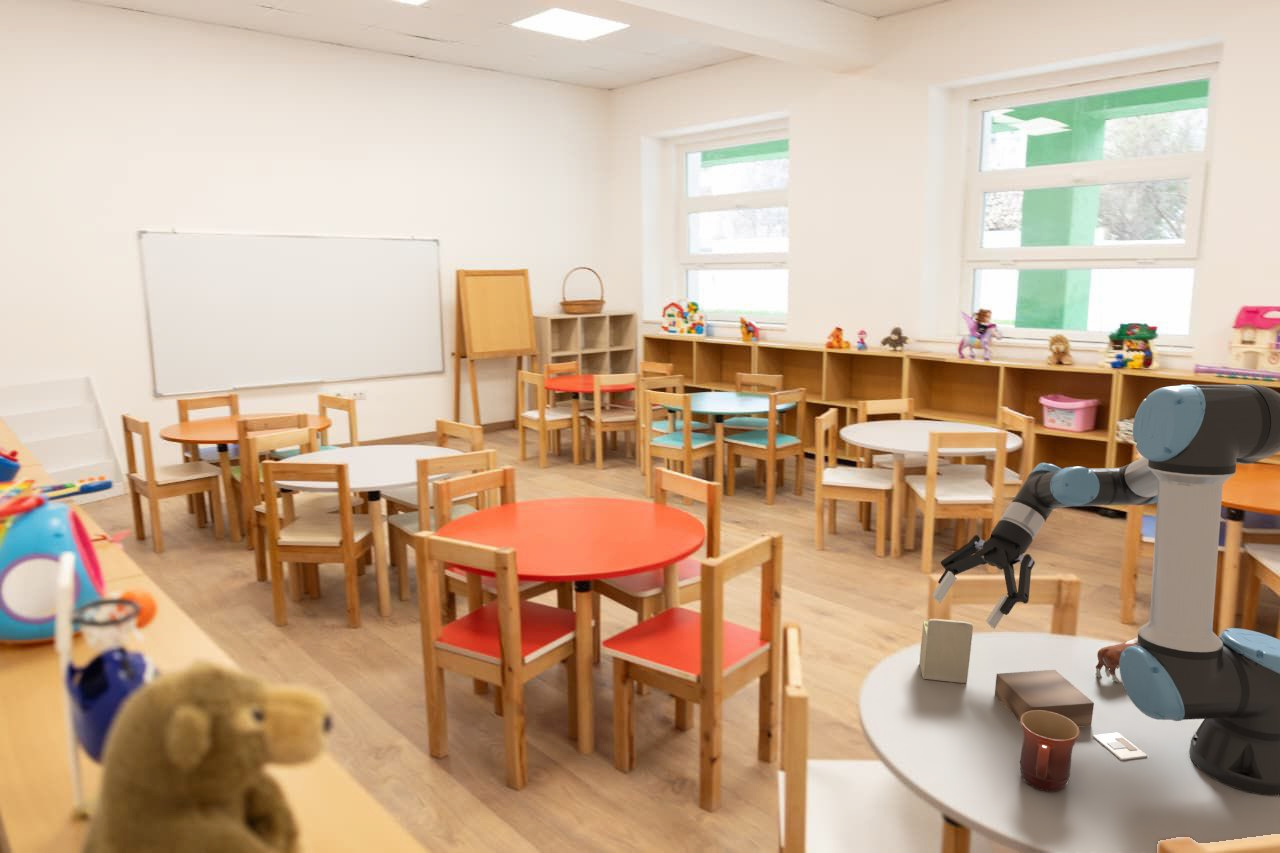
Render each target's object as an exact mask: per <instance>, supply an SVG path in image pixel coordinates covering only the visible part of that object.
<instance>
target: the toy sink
mask: <svg viewBox="0 0 1280 853" xmlns="http://www.w3.org/2000/svg"><path fill="white" fill-rule="evenodd" d="M973 628H974V627H973V624H972V623H971V622H970V621H969V622H968V621H962V620H953V619H941V618H939V619H938V618H930V619H928V620H924V621H923V622H922V632H921V643H920V653H919V668H920V671H921V675H922V679H924V680H931V681H939V682H941V681H943V682H950V683H951V682H952V683H960V684H967V683H968V675H969V668H970V667H969V666H970V660H971V659H970V658H971V651H972V649H971V648H972V647H971V646H972V639H973V630H974V629H973Z"/></svg>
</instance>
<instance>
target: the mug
mask: <svg viewBox="0 0 1280 853" xmlns="http://www.w3.org/2000/svg"><path fill="white" fill-rule="evenodd" d="M1019 722H1020V726H1021V730H1022V731H1021V732H1022V745H1021V752H1020V759H1019V769H1020V775H1021V777H1022V779H1023V780H1024V781H1025V782H1026V783H1027V784H1028V785H1029V786H1031V787H1033V788H1036V789H1037V790H1040V791H1043V792H1048V793H1049V792H1050V793H1051V792H1058V791H1061V790H1064V789H1065V788H1066V786H1067V784H1068V783H1069V781H1070V780H1069V778H1070V776H1071V769H1072V768H1071V766H1072V757H1073V756H1072V754H1073V748H1074V746H1075V744H1076V742H1077V740H1078V739H1079V737H1080V734H1081V733H1080V732H1081V731H1080V727H1078V726H1077V725H1076V724H1075V723H1074V722H1073V721H1072V720H1070V719H1068V718H1067V717H1065V716H1063V715H1060V714H1057V713H1054V712H1050V711H1044V710H1032V711H1027V712H1025V713H1023V714H1022V715H1021V717H1020V721H1019Z"/></svg>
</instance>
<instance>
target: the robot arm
mask: <svg viewBox="0 0 1280 853" xmlns="http://www.w3.org/2000/svg"><path fill="white" fill-rule="evenodd" d="M1133 419H1134V420H1133V425H1132V438H1133V442H1134V443H1136V445H1135V448H1136V450H1137V452H1138V453H1139V454H1140V456H1142V457H1141V458H1139V459H1137V460H1135V461H1133V462H1131V463H1128V464H1127V465H1124V466H1121V467H1120V466H1119V467H1104V468H1103V467H1099V468H1098V467H1095V468H1092V467H1091V468H1087V467H1086V466H1085V467H1084V466H1078V465H1077V466H1067V467H1064V468H1061V467H1059V466H1057V465H1055V464H1053V463H1046V462H1040V463H1038V464H1037V465H1036V466H1035V467H1034V468H1033V470H1032V471H1031V472H1030V473H1029V474H1028V475H1027V478H1026V480H1025V481H1024V483H1023V485H1022V486H1021V487H1020V489H1019V490H1018V492H1017V494H1016V495H1015V497H1014V498H1013V499H1012V501H1011V502H1010V504H1009V505H1008V506H1007V508H1006V510H1005V511H1004V512H1003V514H1002V515H1001V520H999V521H998V522H997V523H996V525H995V526H994V528H993V529H992V531H991V533H990V536H989V538H988V539H987V540H983V539H981V537H980V536H979V535H977V534H975V535H974V536H973V537H972V538H971V539H970V540H969V542H967V543H966V544H964V545H962V546H961V547H960V548H958V549H957V550H955V551H954V552H953V553H950V555H948V556H946V557H945V558H944V559H942V560H941V561H940V565H941V567H943V568H944V572H943V573H942V575H941V577H940V578H939V579H938V586H937V587H936V589H935V591H934V592H933V593H932V594H931V596H932V598H934V600H935V601H936V602H938V603H939V604H941V603H942V601H943V600H944V598H945V597H946V596H947V595H948V592H949V591H950V589H951V588H952V586H953V585H954V583H955V582H956V580H957V577H956V575H959V574H961V573H963V572H966V571H969V570H970V569H974V568H976V567H978V566H980V565H982V566H983V565H986V564H988V566H991V567H996V568H997V569H999V570H1003V575H1004V579H1005V585H1006V592H1007V593H1006V594H1007V595H1006V594H1002V596H1001V597H1000V598H999V600H998V602H996V604H995V606H994V608H993V609H992V611H991V612H990V614H989V616H988V617H987V618H986V620H985V621H986V622H987V624H988V626H990V628H992V629H994V630H995V629H996V628H997V626H998V624H999V623H1000V621H1001V620H1002V618H1003V617H1004V615H1005V616H1007V615H1009V614H1010V612H1011V611H1012V609H1013V607H1014V606H1015V605H1016V604H1017V603H1023V604H1028V603H1029V599H1030V588H1031V576H1032V569H1033V568H1034V566H1035V564H1036V562H1035V560H1034V559H1033V558H1032V556H1031V555H1030V554H1028V553H1026V552H1027V550H1028V549H1029V548H1030V545H1031V544H1032V542H1033V538H1036V536H1037V534H1038V533H1039V531H1040V530H1041V529H1042V527H1043V525H1044V524H1045V523H1046V521H1047V519H1048V518H1049V516H1050V515H1051V513H1052V512H1053V511H1054V509H1060V508H1067V507H1096V506H1097V507H1098V506H1099V507H1100V506H1145V505H1151V504H1152V505H1153V504H1156V514H1155V529H1154V530H1155V531H1154V545H1153V558H1152V559H1153V563H1152V576H1151V578H1152V579H1151V592H1150V593H1151V595H1150V596H1151V597H1150V612H1149V621H1147V622H1146V623H1145V624H1143V625H1142V626H1140V627H1139V628H1138V630H1137V638H1138V643H1137V645H1133V646H1130V647H1127V648H1125V650H1124V651H1123V652H1122V653H1121V656H1120V661H1119V668H1118V669H1119V675H1120V679H1121V683H1122V685H1123V688H1124V690H1125V692H1126V694H1127V695H1128V698H1129V699H1130V701H1131V702H1132V704H1133V705H1134V706H1135V708H1137V709H1138V711H1140V712H1141V713H1142V714H1143V715H1145V716H1146V717H1148V718H1151V719H1154V720H1159V721H1160V720H1162V721H1167V720H1168V721H1169V720H1170V721H1175V722H1181V721H1186V720H1187V721H1188V720H1202V722H1201V723H1200V725H1199V727H1198V728H1197V729H1196V731H1195V732H1194V734H1193V735H1192V737H1191V740H1190V745H1189V751H1188V752H1189V757H1190V759H1191V761H1192V762H1193V763H1194V764H1195V766H1196V767H1198V768H1199V769H1200V770H1201V771H1203V772H1204V773H1205V774H1206V775H1208V776H1210V777H1211V778H1213V779H1215V780H1217V781H1219V782H1221V783H1223V784H1225V785H1227V786H1230V787H1232V788H1235V789H1238V790H1242V791H1245V792H1248V793H1253V794H1257V795H1265V796H1280V638H1279V639H1278V638H1276V637H1273V636H1271V635H1269V634H1265V633H1261V632H1258V631H1254V630H1250V629H1245V628H1235V627H1231V628H1226V629H1224V630H1222V631H1221V633H1220V635H1219V636H1218V635H1217V634H1216V633H1215V632H1214V630H1213V626H1214V624H1213V623H1214V613H1215V612H1214V611H1215V600H1216V599H1215V598H1216V586H1217V568H1218V559H1219V558H1218V556H1219V555H1218V554H1219V544H1220V543H1219V542H1220V540H1219V539H1220V528H1221V514H1222V499H1223V488H1224V486H1223V485H1224V483H1225V482H1227V481H1228V480H1229V479H1231V478H1232V477H1234V476H1235V475H1236V473H1237V472H1236V471H1237V464H1240V465H1249V464H1251V465H1252V464H1255V463H1256V462H1259V461H1261V460H1264V459H1267V458H1270V457H1272V456H1274V455H1276V454H1278V453H1280V392H1278V391H1276V390H1274V389H1272V388H1269V387H1266V386H1264V385H1259V384H1255V383H1254V384H1253V383H1248V384H1246V383H1244V384H1243V383H1239V384H1190V383H1189V384H1180V385H1171V386H1165V387H1163V386H1162V387H1160V388H1157V389H1155V390H1153V391H1152V392H1150V393H1149V394H1148V395H1147V396H1146V398H1144V399H1143V400H1142V402H1140V405H1139V406H1138V408H1137V410H1136V413H1135V415H1134V418H1133ZM1025 553H1026V554H1025ZM1024 554H1025V555H1024ZM1018 563H1019V564H1020V565H1019V576H1018V586H1017V582H1016V577H1015V569H1014V568H1015V567H1014V565H1016V564H1018ZM1017 587H1018V588H1017Z"/></svg>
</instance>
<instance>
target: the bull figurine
mask: <svg viewBox="0 0 1280 853" xmlns="http://www.w3.org/2000/svg"><path fill="white" fill-rule="evenodd" d="M1137 643H1138V637H1135V638H1133V639H1130V640H1127V641H1124V642H1121V643H1119V644H1118V643H1117V644H1112V645H1108V646H1104V647H1102V648H1100V649H1099V650H1098V651H1097V655H1096V656H1097V660H1098V663H1097V664H1096V665H1095V669H1096V673H1095V676H1096V677H1097V678H1099V679H1101V678H1102V677H1103V676H1102V674H1101V671H1102V668H1103V667H1104V672H1105V674H1106V677H1107V678H1109V677H1110V676H1111V678H1112V679H1111V680H1112V681H1113V682H1114V683H1120V679H1119V678H1118V677H1117V675H1116V669H1120V668H1119V661H1120V656H1121V653H1122V652H1123V651H1124V650H1125V648H1127V647H1130V646H1133V645H1137Z"/></svg>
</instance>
